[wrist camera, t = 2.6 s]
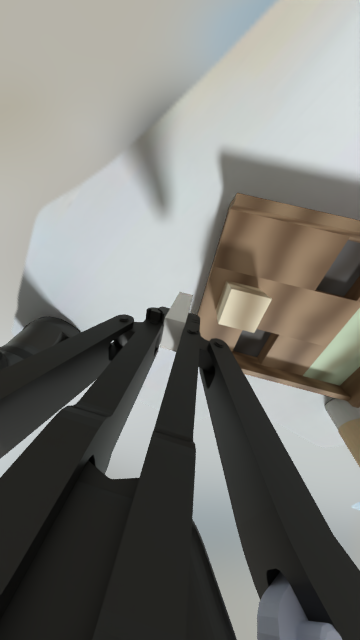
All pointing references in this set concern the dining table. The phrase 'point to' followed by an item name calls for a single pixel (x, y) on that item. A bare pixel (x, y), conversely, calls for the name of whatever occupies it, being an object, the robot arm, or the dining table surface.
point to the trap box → (292, 295)
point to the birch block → (241, 306)
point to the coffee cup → (346, 424)
